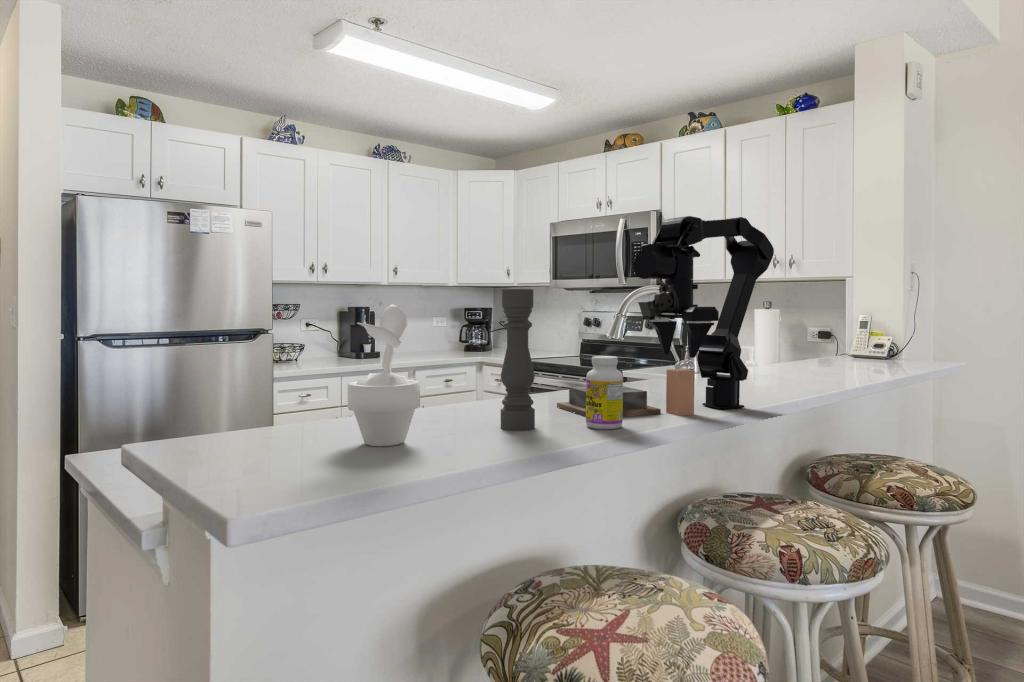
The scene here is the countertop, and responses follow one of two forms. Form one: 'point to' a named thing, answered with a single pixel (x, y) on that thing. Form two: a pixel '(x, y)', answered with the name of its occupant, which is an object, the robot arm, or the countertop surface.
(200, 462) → the countertop surface
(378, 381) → the potted plant
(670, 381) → the peg
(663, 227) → the robot arm
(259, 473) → the countertop surface
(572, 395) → the socket
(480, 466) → the countertop surface
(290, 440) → the countertop surface
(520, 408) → the candle holder
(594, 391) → the supplement bottle
